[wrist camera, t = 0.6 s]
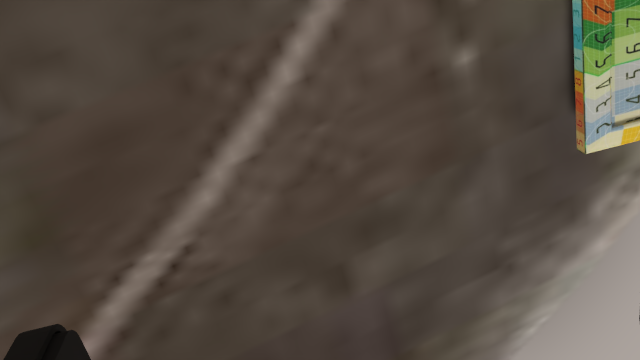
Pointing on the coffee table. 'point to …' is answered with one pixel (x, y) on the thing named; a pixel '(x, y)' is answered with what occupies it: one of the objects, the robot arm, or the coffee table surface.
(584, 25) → the puzzle game
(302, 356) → the coffee table surface
